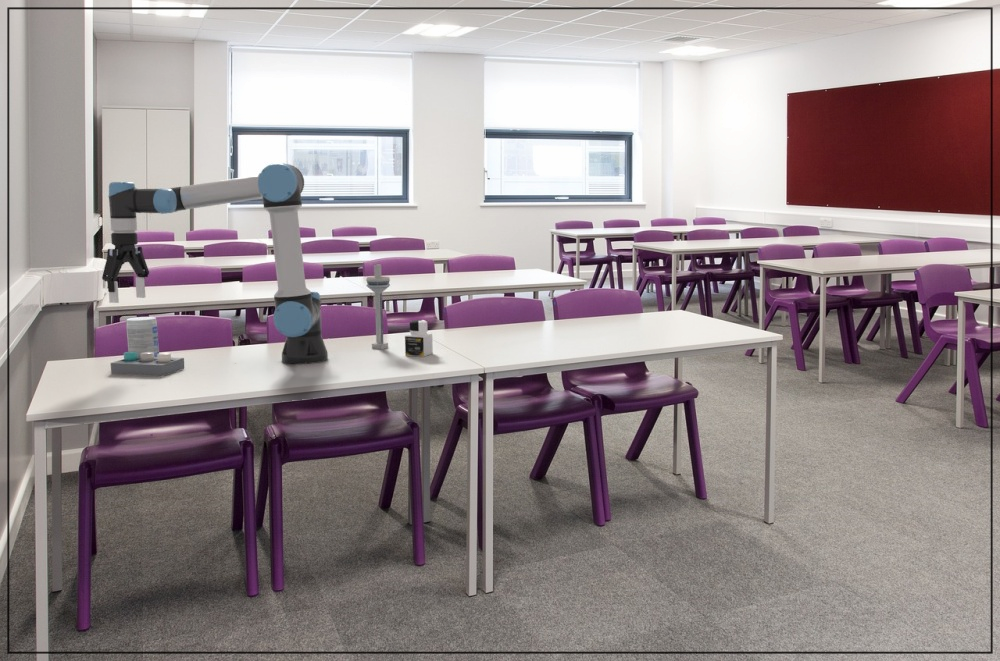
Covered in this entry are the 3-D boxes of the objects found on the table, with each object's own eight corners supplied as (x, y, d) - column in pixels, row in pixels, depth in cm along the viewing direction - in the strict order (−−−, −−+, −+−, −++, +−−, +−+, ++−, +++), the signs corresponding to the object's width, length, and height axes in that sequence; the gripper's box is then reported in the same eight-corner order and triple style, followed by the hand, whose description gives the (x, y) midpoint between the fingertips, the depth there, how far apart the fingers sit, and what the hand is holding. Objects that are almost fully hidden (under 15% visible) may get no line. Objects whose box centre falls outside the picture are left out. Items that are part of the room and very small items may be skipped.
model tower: (383, 350, 315) (381, 266, 310) (363, 349, 318) (361, 265, 314) (396, 346, 322) (393, 264, 318) (376, 345, 326) (374, 263, 321)
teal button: (140, 360, 284) (139, 351, 284) (132, 363, 281) (132, 354, 280) (129, 360, 285) (128, 351, 285) (121, 362, 282) (120, 353, 281)
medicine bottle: (405, 355, 305) (404, 321, 303) (414, 352, 311) (413, 318, 309) (423, 357, 302) (422, 322, 300) (433, 353, 309) (432, 319, 307)
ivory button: (174, 362, 282) (173, 352, 281) (166, 364, 278) (166, 355, 278) (162, 361, 283) (162, 352, 282) (155, 364, 279) (154, 354, 278)
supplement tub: (162, 362, 297) (159, 318, 294) (132, 365, 291) (129, 321, 289) (155, 357, 305) (152, 315, 302) (126, 361, 299) (123, 317, 297)
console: (184, 368, 286) (183, 357, 285) (162, 376, 274) (161, 365, 274) (135, 366, 290) (134, 356, 289) (111, 374, 278) (110, 363, 278)
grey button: (157, 361, 283) (156, 352, 283) (149, 364, 279) (148, 354, 279) (146, 361, 284) (145, 351, 284) (138, 363, 280) (137, 354, 280)
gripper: (138, 230, 290) (141, 295, 293) (86, 233, 266) (91, 304, 269) (158, 230, 288) (161, 296, 291) (108, 234, 264) (112, 305, 267)
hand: (127, 300), depth 280 cm, fingers open, 13 cm apart
